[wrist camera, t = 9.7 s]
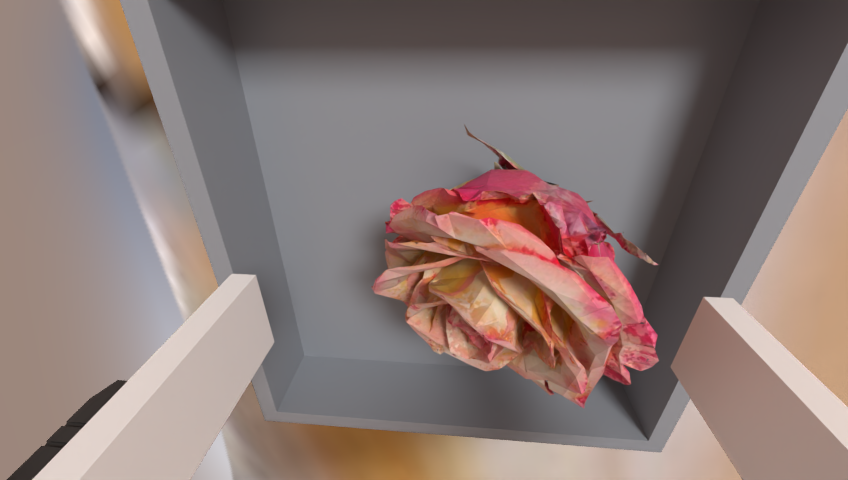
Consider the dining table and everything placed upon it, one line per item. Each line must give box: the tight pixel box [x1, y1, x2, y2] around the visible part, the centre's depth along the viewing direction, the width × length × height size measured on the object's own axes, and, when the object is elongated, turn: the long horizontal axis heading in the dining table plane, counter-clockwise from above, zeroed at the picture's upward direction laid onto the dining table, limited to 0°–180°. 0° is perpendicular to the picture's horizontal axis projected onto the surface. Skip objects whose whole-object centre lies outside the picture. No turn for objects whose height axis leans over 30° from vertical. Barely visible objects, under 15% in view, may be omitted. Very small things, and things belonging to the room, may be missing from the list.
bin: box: [120, 0, 848, 452], centre depth 15 cm, size 20×20×4 cm
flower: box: [371, 124, 659, 408], centre depth 13 cm, size 10×9×8 cm
